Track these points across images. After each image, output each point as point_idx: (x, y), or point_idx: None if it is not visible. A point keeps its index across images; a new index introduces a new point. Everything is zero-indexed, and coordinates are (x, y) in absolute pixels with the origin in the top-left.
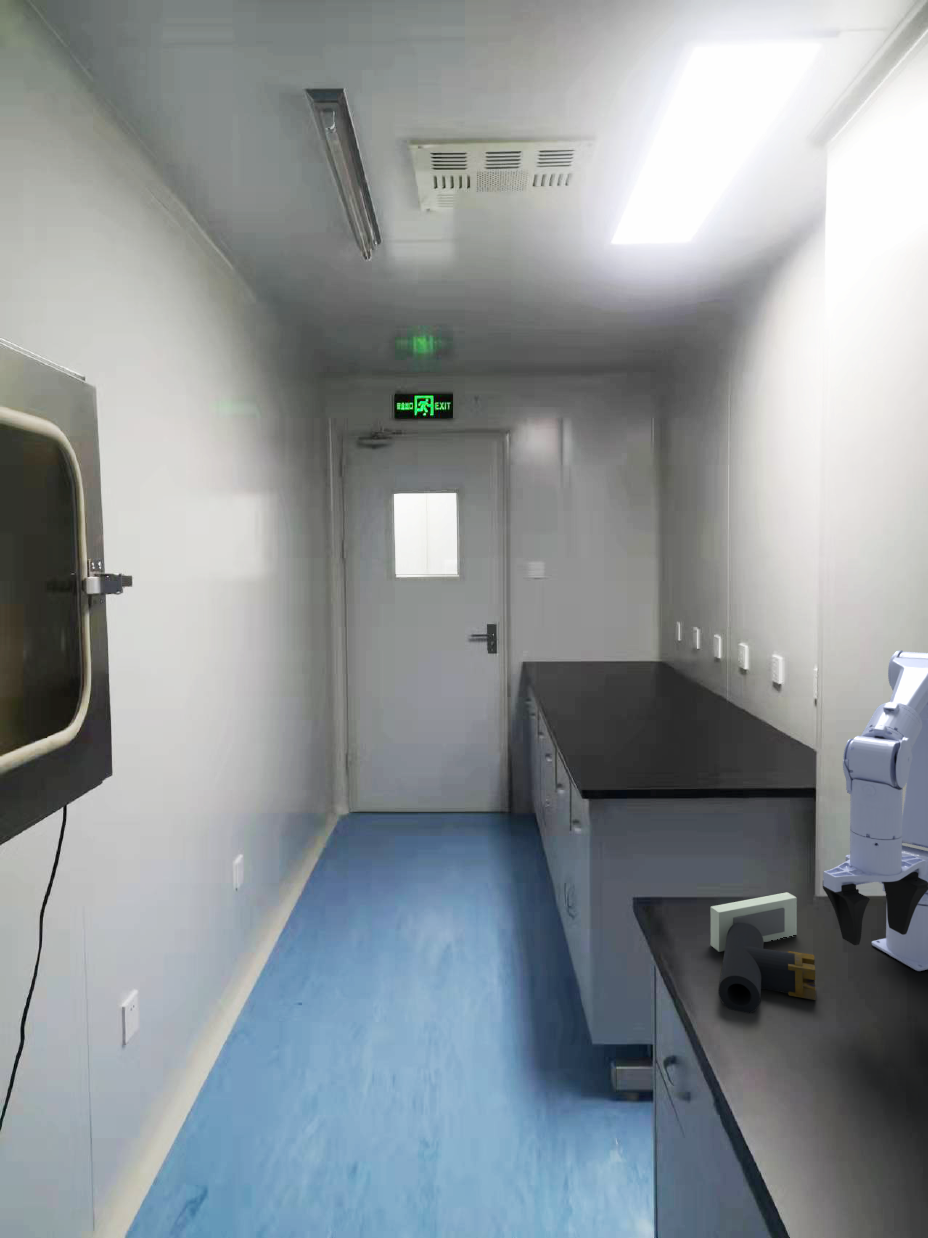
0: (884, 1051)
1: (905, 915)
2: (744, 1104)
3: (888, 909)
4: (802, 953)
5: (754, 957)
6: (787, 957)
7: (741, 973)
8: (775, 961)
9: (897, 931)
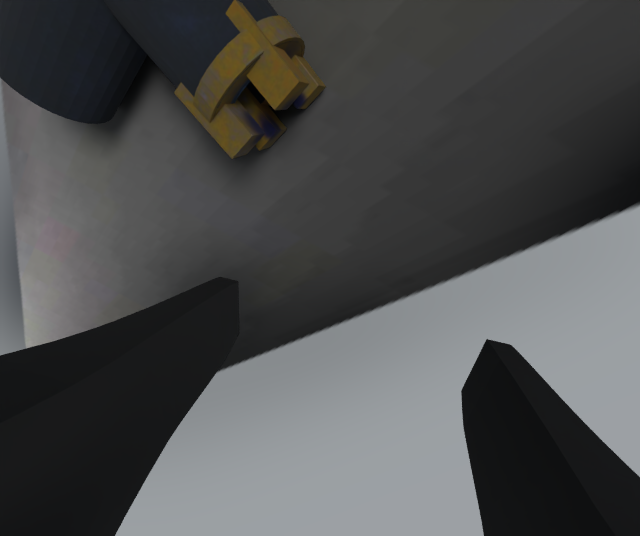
0: (271, 304)
1: (479, 494)
2: (30, 263)
3: (521, 409)
4: (269, 48)
5: None
6: (183, 61)
7: (11, 70)
8: (150, 46)
9: (469, 375)
